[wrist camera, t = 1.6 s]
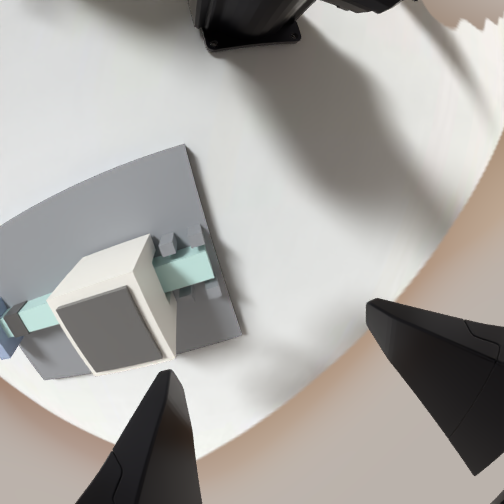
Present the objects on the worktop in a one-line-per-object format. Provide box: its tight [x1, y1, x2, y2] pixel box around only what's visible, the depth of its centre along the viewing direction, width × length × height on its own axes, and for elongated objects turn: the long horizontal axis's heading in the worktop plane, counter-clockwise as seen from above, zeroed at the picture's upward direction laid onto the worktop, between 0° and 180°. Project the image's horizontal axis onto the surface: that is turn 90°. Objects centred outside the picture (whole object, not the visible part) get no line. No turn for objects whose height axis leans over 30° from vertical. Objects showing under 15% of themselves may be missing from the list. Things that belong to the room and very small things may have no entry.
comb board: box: [0, 144, 242, 380], centre depth 15 cm, size 20×14×4 cm
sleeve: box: [46, 234, 177, 377], centre depth 13 cm, size 5×5×6 cm
